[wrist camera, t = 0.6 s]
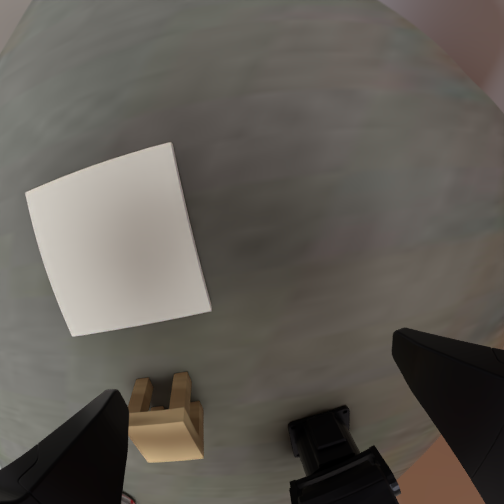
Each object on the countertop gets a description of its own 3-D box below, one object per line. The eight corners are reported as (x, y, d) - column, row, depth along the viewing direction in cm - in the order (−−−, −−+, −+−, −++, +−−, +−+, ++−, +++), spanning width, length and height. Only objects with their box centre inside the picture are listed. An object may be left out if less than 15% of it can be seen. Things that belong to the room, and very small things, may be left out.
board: (211, 305, 22) (211, 311, 21) (76, 330, 21) (72, 336, 20) (172, 143, 19) (170, 142, 18) (32, 191, 18) (25, 192, 17)
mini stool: (203, 409, 25) (203, 458, 19) (155, 415, 24) (148, 462, 19) (187, 371, 23) (183, 421, 18) (136, 379, 23) (122, 426, 17)
